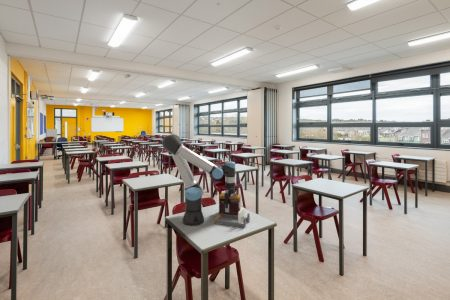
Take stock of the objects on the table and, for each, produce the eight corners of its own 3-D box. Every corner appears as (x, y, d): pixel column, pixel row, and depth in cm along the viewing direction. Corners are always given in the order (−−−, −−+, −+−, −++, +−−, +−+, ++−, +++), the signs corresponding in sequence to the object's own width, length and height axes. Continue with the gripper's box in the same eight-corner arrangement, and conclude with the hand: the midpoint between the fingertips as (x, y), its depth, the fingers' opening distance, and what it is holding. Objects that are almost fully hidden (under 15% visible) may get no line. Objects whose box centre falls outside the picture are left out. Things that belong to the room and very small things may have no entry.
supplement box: (238, 217, 182) (239, 197, 180) (218, 215, 185) (218, 195, 183) (240, 212, 192) (240, 193, 190) (221, 211, 195) (221, 192, 193)
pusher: (237, 225, 166) (238, 212, 165) (242, 219, 176) (243, 207, 175) (244, 226, 164) (244, 213, 163) (248, 220, 174) (249, 208, 173)
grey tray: (213, 222, 172) (213, 214, 171) (220, 216, 184) (220, 208, 183) (244, 228, 163) (244, 219, 163) (249, 221, 175) (249, 213, 174)
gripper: (229, 186, 173) (229, 215, 175) (239, 179, 195) (239, 205, 198) (219, 185, 176) (219, 213, 178) (231, 178, 198) (230, 204, 200)
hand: (230, 209), depth 188 cm, fingers open, 12 cm apart
